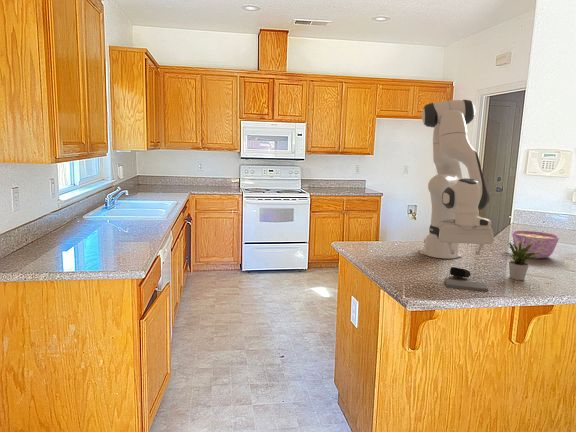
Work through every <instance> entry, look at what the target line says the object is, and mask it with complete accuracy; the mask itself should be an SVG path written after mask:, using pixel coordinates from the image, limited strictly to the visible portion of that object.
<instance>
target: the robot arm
mask: <svg viewBox="0 0 576 432" xmlns="http://www.w3.org/2000/svg"><path fill="white" fill-rule="evenodd" d="M475 114H476V107H475V105H474V102H473V101H472V100H470V99H463V100H461V99H459V100H458V99H455V100H454V99H452V100H444V101H438V102H430V103H427V104H425V105H424V106H423V108H422V111H421V120H422V122H423V125H424V126H425V127H427V128H433V134H432V157H433V158H432V159H433V163H434V165H435V167H436V173H437V174H436V175H434V176H432V178H430V180H429V182H428V184H427V189H428V192H429V193H430V194H429V195H430V201H431V202H430V203H431V217H430V218H431V221H430V225H429V227H428V228H429V229H428V232H429V234H428V235H426V237H425V238H424V239H423V248H421V250H420V251H419V254H421V255H425V256H428V257H432V258H437V259H457V258H462V257H463V256H462V254H461V253H460V252H459V244H471V245H472V244H473V245H478V246H479V248H477V249H475V253H474V255H476V256H480V255H481V251H482V249H483V248H484V245H493V244H494V242H495V236H494V230H493V228H492V227H491V226H492V221H491V220H490V219H489V218H485V217H484V216H480V211H482V210H483V209H485V208H486V207H487V205H488V204H489V203H490V193H489V190H488V188H487V185H486V183H485V179H484V174H483V169H482V167H481V166H482V165H481V162H480V158H479V155H478V152H477V150H476V149H475V148H474V147H473V146H472V145H471V144H470V141H469V138H468V128H467V125H468V124H470V123H471V122H472V121H473V120H474V118H475ZM460 163H461V164H463V165H464V166H465V168H466V169H467V171H468V176H469V178H463V174H462V169H461V164H460Z"/></svg>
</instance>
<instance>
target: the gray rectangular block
mask: <svg viewBox="0 0 576 432" xmlns="http://www.w3.org/2000/svg"><path fill="white" fill-rule="evenodd" d="M444 283H445V285H446V288H451V289H461V290H462V289H463V290H470V291H472V290H473V291H479V292H480V291H481V292H489V287H488V286H487V284H486V283H485V282H481V281H480V282H479V281H469V280H461V279H460V280H459V279H451V278H444Z"/></svg>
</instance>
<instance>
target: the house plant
mask: <svg viewBox="0 0 576 432" xmlns="http://www.w3.org/2000/svg"><path fill="white" fill-rule="evenodd" d="M522 240H523V239H522ZM522 240H521V242H519V251H518V248H517V246H516V245H515V243H514V242H513V239H510V241H509V242H508V248H509V249H510V250H511V252H512V254H510V253H509V252H503V253H502V254H504V255H506V256H509V257H511V258H512V259H513V260H509V261H508V269H509V278H510V279H513V280H516V281H524V280H525V279H526V274H527V271H528V268H529V263H528V262H526V261H527V260H529V261H531V262H532V260H535V261H537V258H534V257H530V256H531V255H535V254H536V253H527V252H528V251H529V250H528V249H529V248H530V247H531V245H532V244H534V243H531V244H529V245H528V246H527V247H526V248H523V249H521V245H522ZM499 241H502V240H499ZM511 241H512V242H511ZM530 242H531V241H530ZM528 243H529V242H528ZM525 245H526V244H525ZM525 245H524V246H525ZM524 246H523V247H524ZM536 247H537V246H536ZM533 248H534V247H533ZM527 250H528V251H527ZM526 251H527V252H526ZM526 253H527V254H526ZM524 255H525V256H524Z"/></svg>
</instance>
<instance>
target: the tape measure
mask: <svg viewBox="0 0 576 432" xmlns="http://www.w3.org/2000/svg"><path fill="white" fill-rule="evenodd" d="M449 274H450V275H451V276H453V278H461V279H463V278H469V277H471V275H472V274H471V271H470V270H468V269H465V268H460V267H454V266H451V267H450V269H449Z"/></svg>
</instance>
